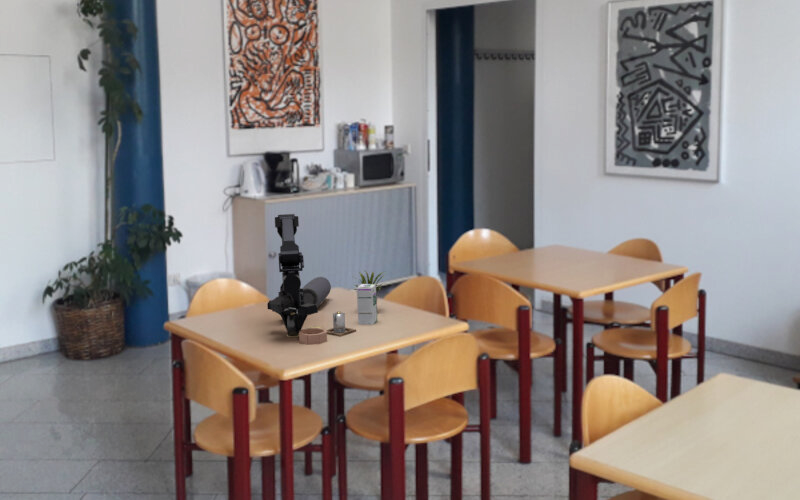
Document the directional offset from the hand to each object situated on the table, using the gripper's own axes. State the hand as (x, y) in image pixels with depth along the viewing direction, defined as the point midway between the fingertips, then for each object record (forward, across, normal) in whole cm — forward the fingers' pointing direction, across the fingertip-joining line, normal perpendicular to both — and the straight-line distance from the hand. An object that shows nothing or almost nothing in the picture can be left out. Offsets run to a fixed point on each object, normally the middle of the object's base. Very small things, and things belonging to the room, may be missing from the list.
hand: (293, 331), depth 305 cm
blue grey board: (+2, 0, +6) cm, 6 cm away
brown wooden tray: (+2, +11, +11) cm, 16 cm away
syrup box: (+2, +10, +27) cm, 29 cm away
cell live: (+2, +11, +11) cm, 16 cm away
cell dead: (+1, 0, 0) cm, 1 cm away
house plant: (+2, -2, +44) cm, 44 cm away
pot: (+2, +10, -2) cm, 11 cm away
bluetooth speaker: (+3, -28, +40) cm, 49 cm away
